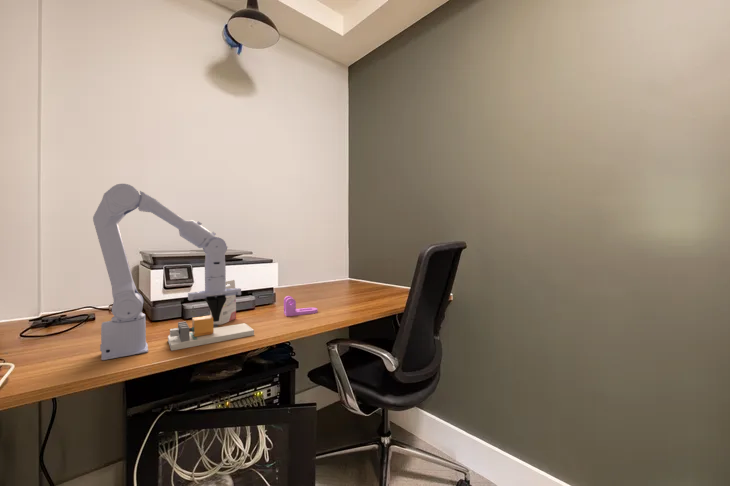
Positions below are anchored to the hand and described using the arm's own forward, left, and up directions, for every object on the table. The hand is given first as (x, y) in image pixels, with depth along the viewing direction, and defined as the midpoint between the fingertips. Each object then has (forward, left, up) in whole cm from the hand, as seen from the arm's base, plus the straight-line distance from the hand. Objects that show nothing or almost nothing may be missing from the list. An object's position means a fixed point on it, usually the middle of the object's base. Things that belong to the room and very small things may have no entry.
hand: (215, 320), depth 94 cm
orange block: (-4, 0, -3) cm, 5 cm away
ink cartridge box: (+6, +18, -5) cm, 20 cm away
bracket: (+34, +12, -5) cm, 36 cm away
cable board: (-1, 0, -5) cm, 5 cm away
